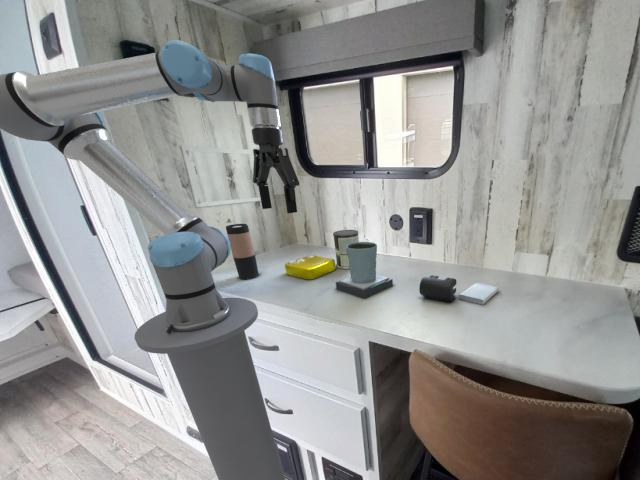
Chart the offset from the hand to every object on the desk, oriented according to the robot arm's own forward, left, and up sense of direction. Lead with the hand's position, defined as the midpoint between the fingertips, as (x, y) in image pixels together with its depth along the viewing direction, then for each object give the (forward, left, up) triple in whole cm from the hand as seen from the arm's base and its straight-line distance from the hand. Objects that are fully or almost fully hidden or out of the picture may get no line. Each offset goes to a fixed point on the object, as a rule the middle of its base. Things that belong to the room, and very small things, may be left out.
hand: (279, 210), depth 90 cm
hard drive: (+36, -48, -28) cm, 66 cm away
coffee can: (+33, +11, -28) cm, 45 cm away
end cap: (+26, -39, -28) cm, 55 cm away
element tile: (+18, +17, -28) cm, 38 cm away
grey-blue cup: (+19, -13, -25) cm, 34 cm away
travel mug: (0, +33, -28) cm, 43 cm away
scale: (+19, -13, -28) cm, 36 cm away
